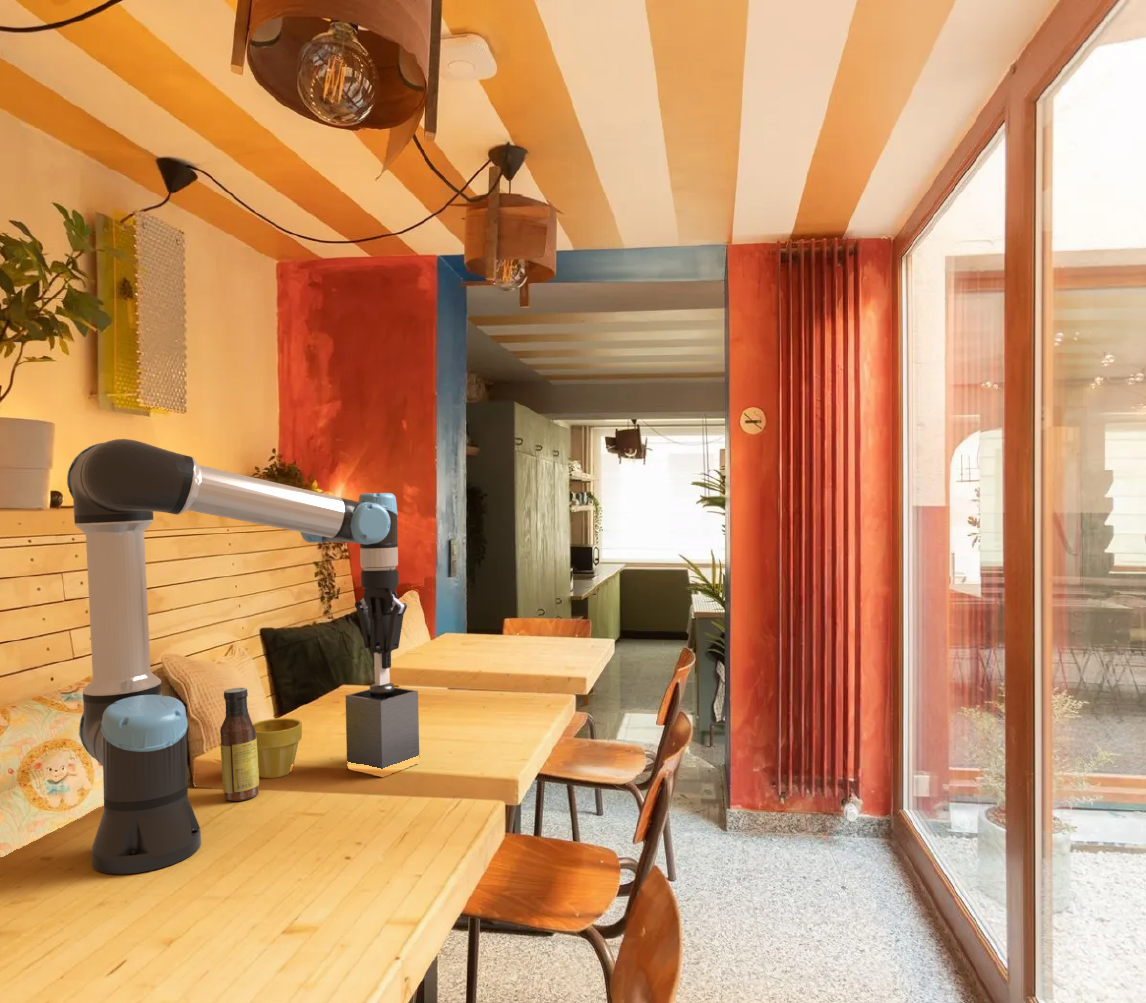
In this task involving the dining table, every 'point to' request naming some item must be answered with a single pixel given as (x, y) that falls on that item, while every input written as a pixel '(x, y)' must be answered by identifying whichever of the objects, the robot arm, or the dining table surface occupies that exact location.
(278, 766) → the plant pot
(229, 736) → the sauce bottle
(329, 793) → the dining table surface
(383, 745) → the dark grey rectangular bin
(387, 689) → the plunger
